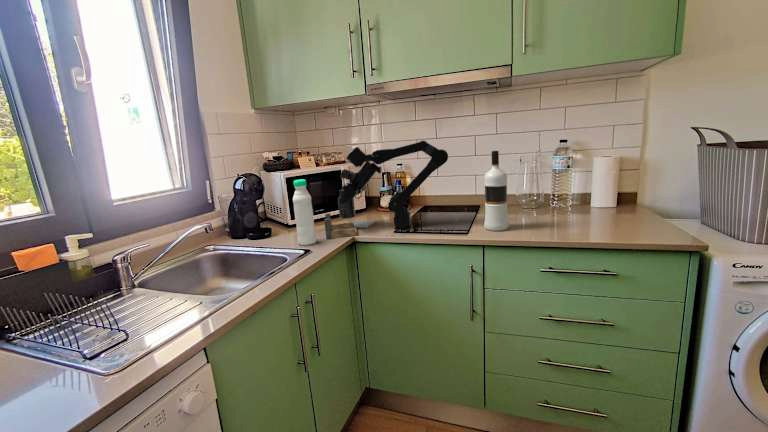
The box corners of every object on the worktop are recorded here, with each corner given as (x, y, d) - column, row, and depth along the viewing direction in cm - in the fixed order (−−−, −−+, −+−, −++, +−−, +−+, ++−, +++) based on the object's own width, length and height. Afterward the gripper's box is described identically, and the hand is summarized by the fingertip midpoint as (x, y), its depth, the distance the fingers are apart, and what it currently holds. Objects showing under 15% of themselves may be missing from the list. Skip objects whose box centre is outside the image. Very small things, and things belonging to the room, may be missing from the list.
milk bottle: (308, 246, 142) (299, 181, 137) (294, 244, 146) (286, 181, 140) (320, 241, 148) (312, 178, 143) (307, 240, 151) (299, 178, 146)
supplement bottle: (358, 215, 163) (355, 188, 160) (347, 219, 158) (344, 191, 156) (348, 215, 167) (345, 188, 165) (336, 218, 162) (333, 190, 160)
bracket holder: (356, 228, 164) (354, 210, 162) (357, 236, 151) (355, 216, 150) (327, 231, 163) (325, 213, 161) (326, 239, 150) (324, 219, 149)
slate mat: (375, 221, 174) (375, 220, 174) (367, 228, 163) (367, 227, 163) (351, 221, 178) (351, 221, 178) (342, 228, 167) (342, 227, 167)
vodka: (481, 231, 144) (479, 152, 138) (487, 225, 152) (485, 150, 145) (506, 232, 139) (505, 151, 133) (511, 226, 147) (510, 149, 141)
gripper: (355, 160, 166) (335, 186, 171) (344, 164, 148) (321, 193, 153) (375, 176, 166) (353, 202, 171) (365, 182, 148) (342, 211, 153)
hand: (343, 202), depth 162 cm, fingers closed on supplement bottle, 7 cm apart
